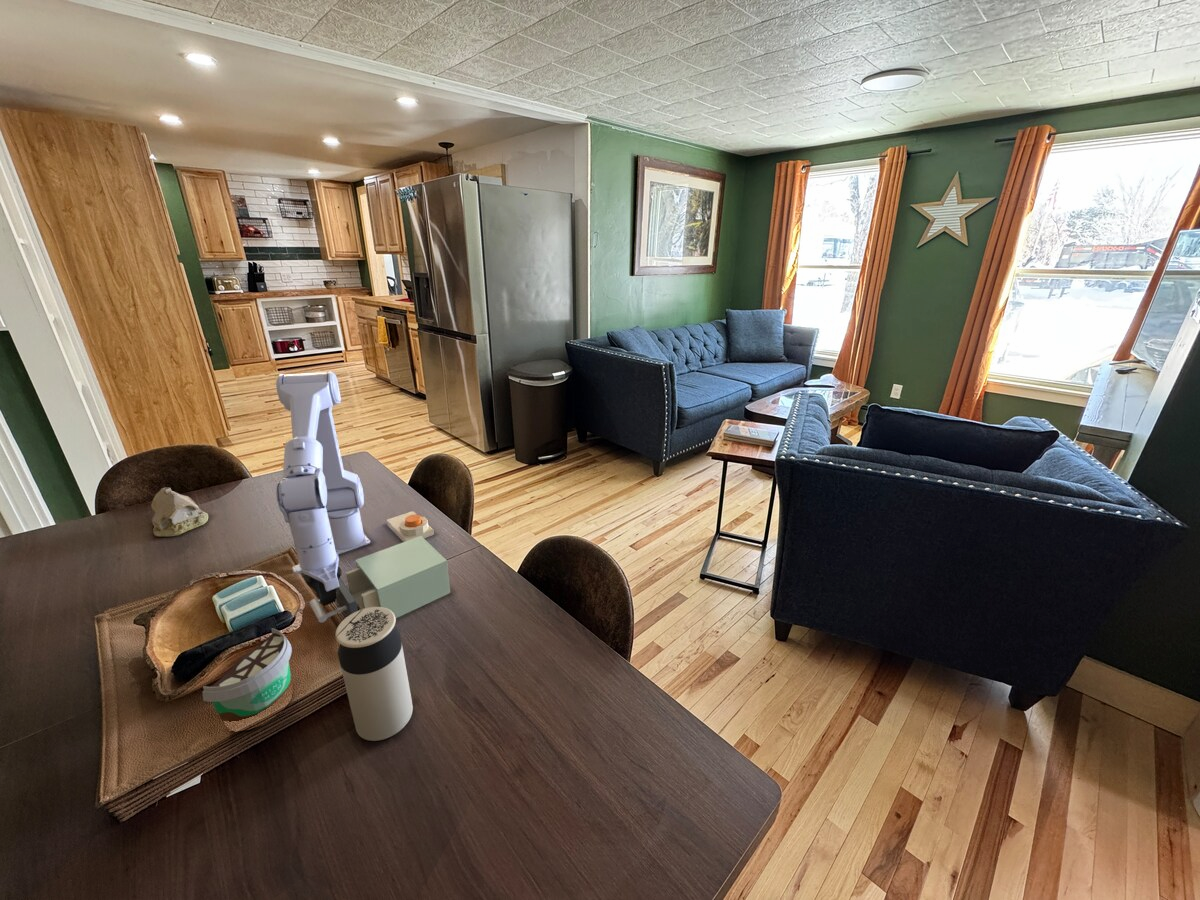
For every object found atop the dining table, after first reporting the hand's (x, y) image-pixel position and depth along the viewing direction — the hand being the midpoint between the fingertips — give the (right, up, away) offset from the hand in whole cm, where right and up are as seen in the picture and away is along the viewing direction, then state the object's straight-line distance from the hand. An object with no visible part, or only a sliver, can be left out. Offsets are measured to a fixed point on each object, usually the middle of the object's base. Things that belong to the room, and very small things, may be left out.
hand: (328, 602), depth 87 cm
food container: (0, -12, -14) cm, 19 cm away
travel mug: (+18, -13, -15) cm, 27 cm away
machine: (+10, -2, +11) cm, 15 cm away
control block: (+2, +8, +33) cm, 34 cm away
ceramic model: (-57, +9, +33) cm, 67 cm away
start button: (+4, +10, +30) cm, 32 cm away
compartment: (+4, -3, +6) cm, 7 cm away
